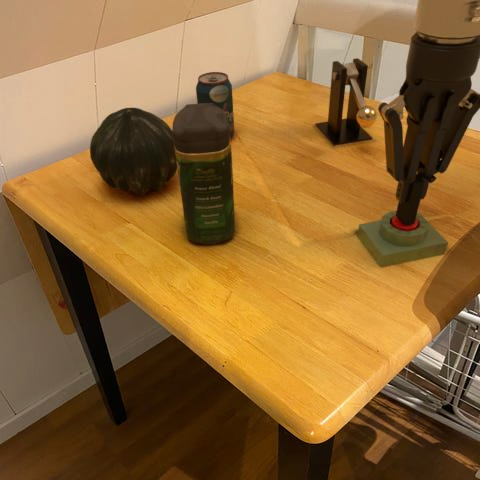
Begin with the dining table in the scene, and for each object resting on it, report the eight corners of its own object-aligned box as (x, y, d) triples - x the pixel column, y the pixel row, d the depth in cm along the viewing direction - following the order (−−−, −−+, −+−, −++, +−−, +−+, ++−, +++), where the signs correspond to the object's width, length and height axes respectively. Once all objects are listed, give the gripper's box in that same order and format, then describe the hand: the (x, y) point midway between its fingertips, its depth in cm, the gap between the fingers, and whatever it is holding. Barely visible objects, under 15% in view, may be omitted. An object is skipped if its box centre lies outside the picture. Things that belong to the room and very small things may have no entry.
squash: (122, 127, 93) (83, 85, 78) (196, 136, 90) (169, 95, 75) (107, 199, 93) (64, 171, 78) (180, 211, 90) (150, 184, 75)
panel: (416, 224, 76) (422, 202, 73) (444, 254, 70) (451, 231, 67) (357, 236, 74) (360, 213, 72) (380, 267, 69) (385, 244, 66)
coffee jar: (237, 244, 74) (230, 125, 61) (186, 248, 74) (167, 129, 61) (234, 210, 81) (227, 95, 68) (186, 213, 81) (170, 99, 68)
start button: (408, 222, 72) (410, 211, 71) (420, 235, 70) (423, 225, 68) (385, 226, 72) (387, 216, 70) (397, 240, 69) (399, 230, 68)
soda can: (234, 145, 98) (231, 83, 89) (200, 147, 98) (193, 84, 89) (234, 130, 102) (231, 69, 94) (202, 132, 103) (195, 71, 94)
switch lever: (376, 130, 88) (382, 115, 84) (357, 133, 87) (363, 118, 84) (353, 74, 92) (358, 58, 88) (335, 77, 91) (340, 61, 88)
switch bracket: (371, 144, 95) (383, 69, 85) (333, 151, 94) (340, 75, 84) (350, 124, 102) (359, 52, 92) (314, 129, 101) (319, 57, 91)
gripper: (410, 51, 49) (374, 242, 66) (524, 35, 51) (460, 225, 67) (377, 31, 54) (351, 213, 71) (481, 17, 56) (432, 198, 73)
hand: (404, 219), depth 69 cm, fingers closed
